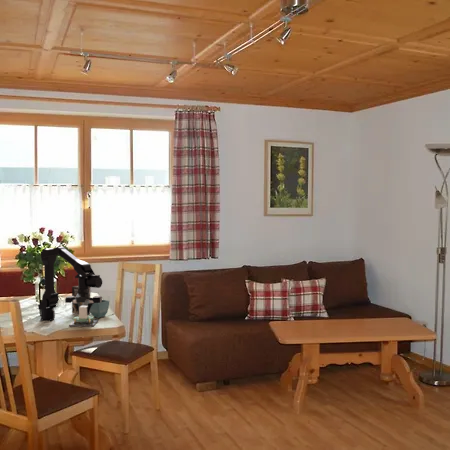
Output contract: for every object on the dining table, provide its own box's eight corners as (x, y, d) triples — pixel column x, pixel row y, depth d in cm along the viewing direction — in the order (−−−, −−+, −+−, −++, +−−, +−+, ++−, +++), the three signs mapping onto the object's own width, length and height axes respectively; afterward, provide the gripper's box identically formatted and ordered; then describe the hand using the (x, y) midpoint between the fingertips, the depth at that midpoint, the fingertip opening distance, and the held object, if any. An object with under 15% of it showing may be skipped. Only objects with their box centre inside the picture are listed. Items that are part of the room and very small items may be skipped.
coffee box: (71, 313, 325) (71, 286, 325) (79, 311, 331) (79, 285, 330) (83, 315, 321) (83, 287, 320) (90, 313, 327) (90, 286, 326)
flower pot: (99, 318, 312) (98, 303, 312) (87, 317, 317) (87, 301, 316) (109, 316, 320) (109, 300, 319) (98, 314, 324) (98, 299, 324)
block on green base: (72, 321, 294) (72, 308, 294) (76, 317, 304) (76, 304, 304) (91, 321, 294) (91, 308, 294) (95, 317, 304) (95, 304, 304)
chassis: (68, 326, 293) (68, 320, 292) (75, 321, 306) (74, 314, 305) (93, 326, 293) (93, 320, 293) (98, 321, 306) (98, 314, 306)
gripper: (62, 288, 290) (62, 318, 291) (97, 289, 290) (98, 318, 291) (67, 285, 301) (68, 314, 302) (102, 285, 302) (102, 314, 302)
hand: (83, 315), depth 299 cm, fingers closed on block on green base, 4 cm apart
